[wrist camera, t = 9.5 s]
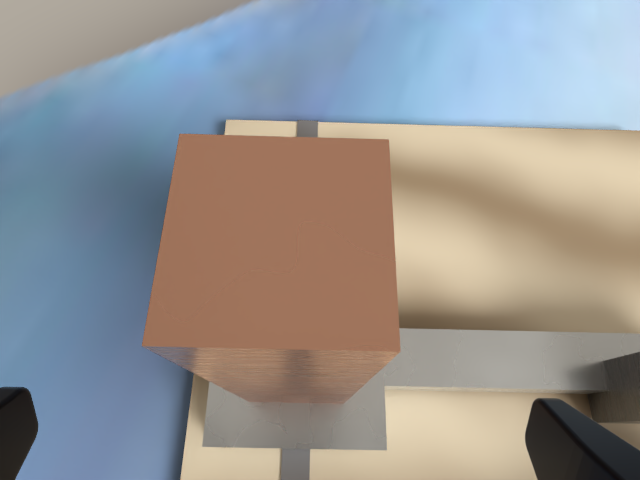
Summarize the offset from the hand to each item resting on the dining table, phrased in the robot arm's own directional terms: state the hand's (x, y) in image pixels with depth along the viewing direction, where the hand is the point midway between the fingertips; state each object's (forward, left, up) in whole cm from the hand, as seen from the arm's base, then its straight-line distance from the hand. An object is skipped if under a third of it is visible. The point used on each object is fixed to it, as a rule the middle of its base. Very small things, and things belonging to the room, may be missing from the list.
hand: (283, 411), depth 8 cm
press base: (-1, -7, -10) cm, 12 cm away
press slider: (-1, -6, -9) cm, 11 cm away
